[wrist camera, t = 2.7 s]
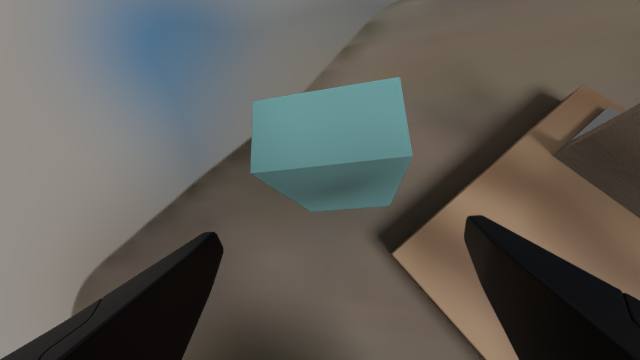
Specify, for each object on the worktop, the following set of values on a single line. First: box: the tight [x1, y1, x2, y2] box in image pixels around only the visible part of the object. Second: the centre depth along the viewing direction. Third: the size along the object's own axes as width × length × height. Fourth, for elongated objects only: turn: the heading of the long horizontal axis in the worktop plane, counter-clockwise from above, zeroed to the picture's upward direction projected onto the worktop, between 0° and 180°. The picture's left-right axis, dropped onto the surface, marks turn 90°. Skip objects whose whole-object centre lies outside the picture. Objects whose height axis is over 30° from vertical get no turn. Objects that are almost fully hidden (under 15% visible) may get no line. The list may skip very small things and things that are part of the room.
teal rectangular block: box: [250, 77, 413, 212], centre depth 15 cm, size 4×6×11 cm, turn 92°
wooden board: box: [390, 85, 640, 360], centre depth 15 cm, size 18×16×2 cm
